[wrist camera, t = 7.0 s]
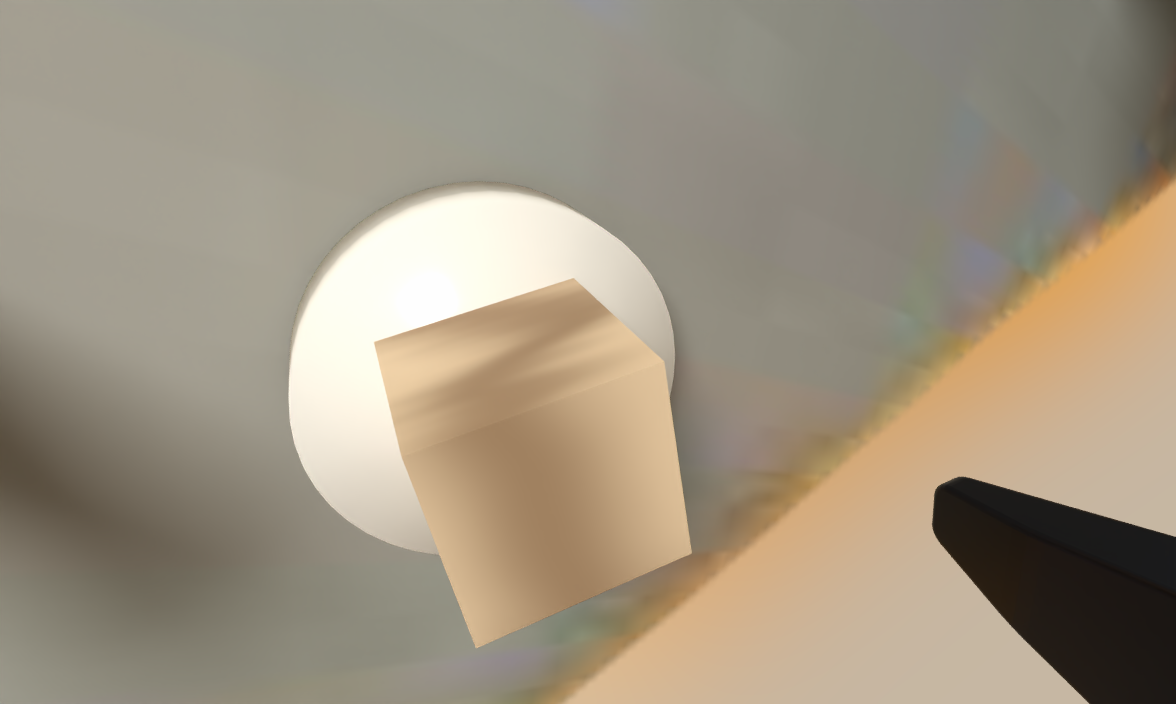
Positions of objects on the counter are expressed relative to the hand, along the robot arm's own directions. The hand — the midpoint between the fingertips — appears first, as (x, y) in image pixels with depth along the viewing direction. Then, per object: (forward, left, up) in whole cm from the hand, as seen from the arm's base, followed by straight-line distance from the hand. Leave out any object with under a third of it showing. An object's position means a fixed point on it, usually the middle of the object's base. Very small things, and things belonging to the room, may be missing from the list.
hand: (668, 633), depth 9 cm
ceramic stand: (0, +1, -12) cm, 12 cm away
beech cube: (0, +1, -9) cm, 9 cm away
